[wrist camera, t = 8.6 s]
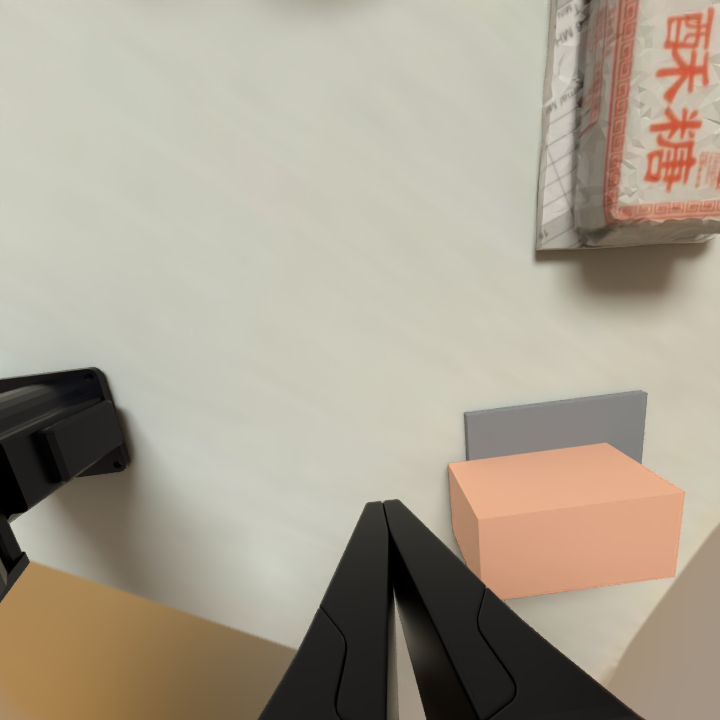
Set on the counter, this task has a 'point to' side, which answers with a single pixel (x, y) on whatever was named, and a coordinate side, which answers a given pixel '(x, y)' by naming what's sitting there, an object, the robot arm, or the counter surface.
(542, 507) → the terracotta block
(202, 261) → the counter surface
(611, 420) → the gray square plate
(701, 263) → the counter surface
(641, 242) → the packaged product
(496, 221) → the counter surface
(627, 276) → the counter surface
